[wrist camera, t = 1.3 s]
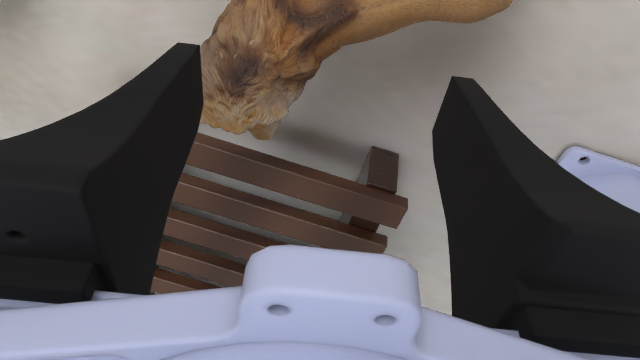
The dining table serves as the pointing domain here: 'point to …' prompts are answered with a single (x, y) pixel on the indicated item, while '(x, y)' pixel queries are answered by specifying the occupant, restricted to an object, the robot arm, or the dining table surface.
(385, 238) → the rack
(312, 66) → the lion figurine
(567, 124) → the dining table surface
